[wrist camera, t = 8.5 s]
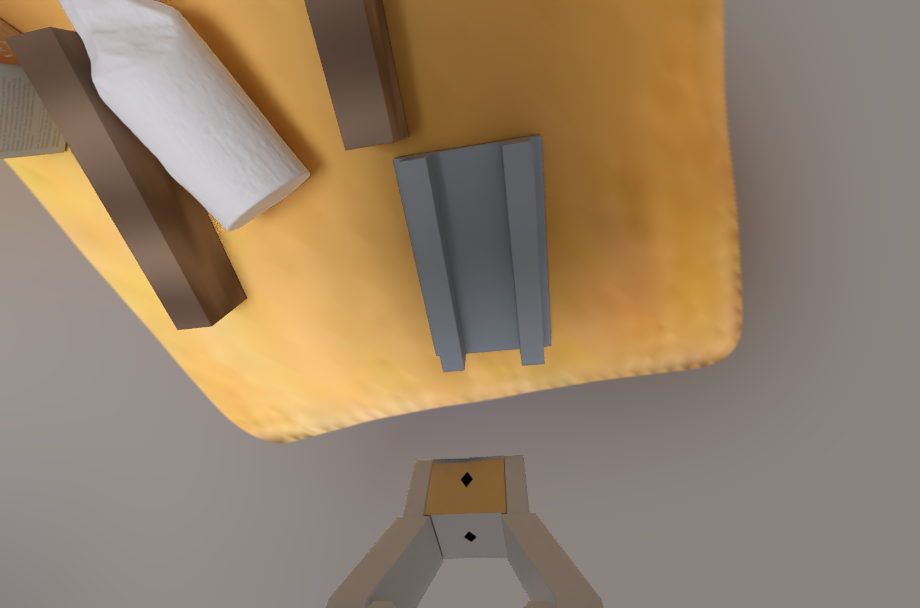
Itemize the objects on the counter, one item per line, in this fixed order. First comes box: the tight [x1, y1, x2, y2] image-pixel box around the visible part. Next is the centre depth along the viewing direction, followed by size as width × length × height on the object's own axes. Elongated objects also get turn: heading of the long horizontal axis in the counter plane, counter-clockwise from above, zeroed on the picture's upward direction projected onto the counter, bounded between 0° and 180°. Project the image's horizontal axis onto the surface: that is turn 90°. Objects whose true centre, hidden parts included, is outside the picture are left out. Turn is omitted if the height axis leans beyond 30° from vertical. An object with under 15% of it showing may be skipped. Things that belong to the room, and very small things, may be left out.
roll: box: [59, 0, 310, 231], centre depth 19 cm, size 6×12×6 cm, turn 33°
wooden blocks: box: [5, 0, 409, 330], centre depth 21 cm, size 17×17×4 cm
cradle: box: [393, 135, 551, 372], centre depth 23 cm, size 14×8×3 cm, turn 9°
